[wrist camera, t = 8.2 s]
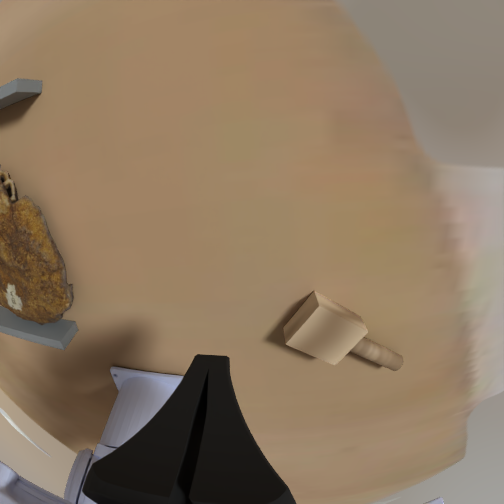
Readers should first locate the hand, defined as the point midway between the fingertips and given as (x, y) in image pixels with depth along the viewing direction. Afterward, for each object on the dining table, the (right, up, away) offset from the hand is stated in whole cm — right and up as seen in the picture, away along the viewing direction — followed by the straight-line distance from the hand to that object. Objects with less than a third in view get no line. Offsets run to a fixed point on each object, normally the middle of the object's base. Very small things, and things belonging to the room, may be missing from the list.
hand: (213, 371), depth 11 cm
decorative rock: (-19, +6, +8) cm, 22 cm away
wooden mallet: (+10, -2, +11) cm, 15 cm away
